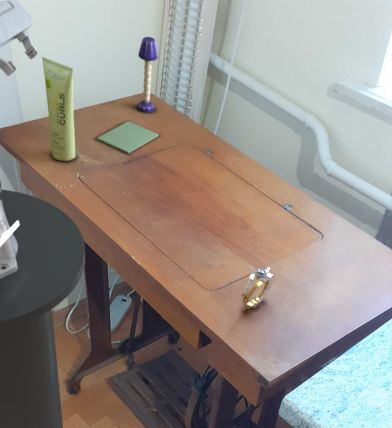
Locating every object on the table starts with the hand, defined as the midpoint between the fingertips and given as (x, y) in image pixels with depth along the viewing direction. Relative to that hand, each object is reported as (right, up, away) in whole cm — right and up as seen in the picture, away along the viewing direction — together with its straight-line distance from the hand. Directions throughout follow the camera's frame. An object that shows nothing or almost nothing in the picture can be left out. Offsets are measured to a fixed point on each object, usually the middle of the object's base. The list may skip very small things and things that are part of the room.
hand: (24, 64), depth 106 cm
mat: (+18, -6, +21) cm, 29 cm away
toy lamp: (+21, +5, +32) cm, 39 cm away
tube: (+5, -14, +12) cm, 19 cm away
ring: (+44, -49, -12) cm, 67 cm away
